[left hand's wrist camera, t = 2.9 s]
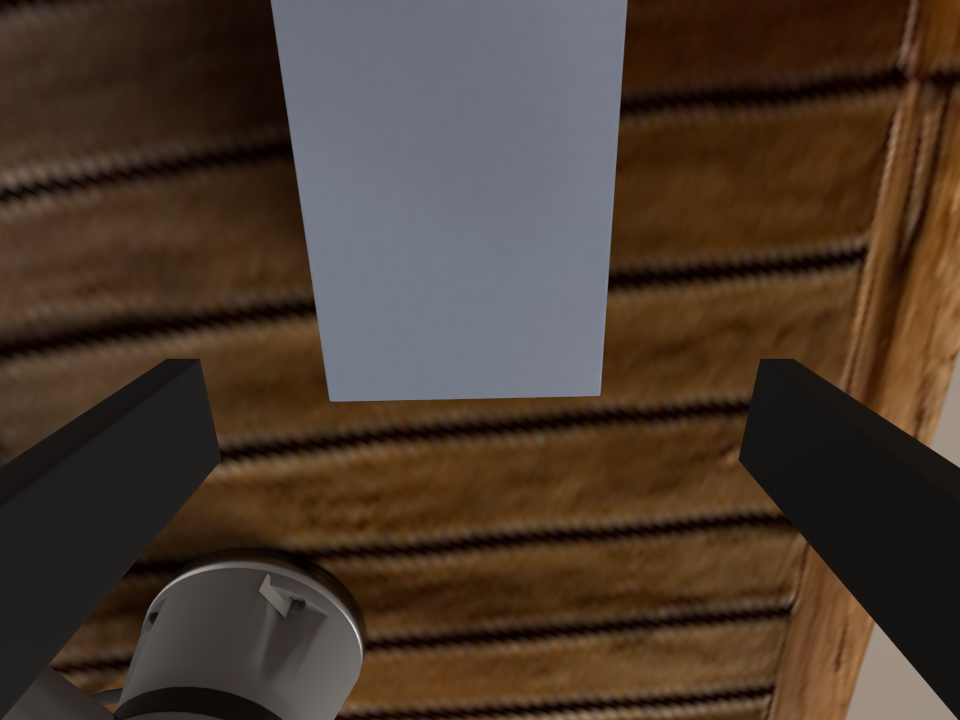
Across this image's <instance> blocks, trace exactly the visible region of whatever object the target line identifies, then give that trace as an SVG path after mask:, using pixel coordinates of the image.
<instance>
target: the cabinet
mask: <svg viewBox="0 0 960 720" xmlns="http://www.w3.org/2000/svg"><path fill="white" fill-rule="evenodd" d="M271 6H272V12H273V19H274V26H275V33H276V40H277V46H278V53H279V60H280V67H281V74H282V80H283V87H284V94H285V101H286V108H287V114H288V121H289V128H290V135H291V142H292V148H293V155H294V162H295V169H296V176H297V182H298V189H299V196H300V203H301V210H302V216H303V223H304V230H305V237H306V244H307V250H308V257H309V264H310V271H311V278H312V284H313V291H314V298H315V305H316V312H317V319H318V325H319V332H320V339H321V346H322V353H323V359H324V366H325V373H326V380H327V387H328V393H329V400H330V401H377V400H424V399H471V398H518V397H565V396H599V395H600V391H601V377H602V362H603V347H604V333H605V318H606V304H607V289H608V274H609V260H610V245H611V231H612V216H613V201H614V187H615V172H616V158H617V143H618V128H619V114H620V99H621V85H622V70H623V55H624V41H625V26H626V12H627V0H271Z"/></svg>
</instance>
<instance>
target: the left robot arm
mask: <svg viewBox="0 0 960 720" xmlns="http://www.w3.org/2000/svg"><path fill="white" fill-rule="evenodd" d="M220 461H221V455H220V450H219V446H218V441H217V437H216V432H215V427H214V423H213V418H212V414H211V409H210V404H209V400H208V395H207V390H206V386H205V381H204V377H203V372H202V367H201V363H200V359H166V360H164V361H163V362H161V363H160V364H158V365H157V366H155V367H154V368H152V369H151V370H149V371H148V372H146V373H145V374H143V375H142V376H140V377H138V378H137V379H135V380H134V381H132V382H131V383H129V384H128V385H126V386H125V387H123V388H122V389H120V390H119V391H117V392H116V393H114V394H112V395H111V396H109V397H108V398H106V399H105V400H103V401H102V402H100V403H99V404H97V405H96V406H94V407H93V408H91V409H90V410H88V411H86V412H85V413H83V414H82V415H80V416H79V417H77V418H76V419H74V420H73V421H71V422H70V423H68V424H67V425H65V426H64V427H62V428H61V429H59V430H57V431H56V432H54V433H53V434H51V435H50V436H48V437H47V438H45V439H44V440H42V441H41V442H39V443H38V444H36V445H35V446H33V447H31V448H30V449H28V450H27V451H25V452H24V453H22V454H21V455H19V456H18V457H16V458H15V459H13V460H12V461H10V462H9V463H7V464H5V465H4V466H2V467H1V468H0V720H334V718H335V717H336V715H337V713H338V711H339V710H340V708H341V706H342V705H343V703H344V701H345V699H346V698H347V697H348V695H349V694H350V692H351V690H352V689H353V687H354V685H355V683H356V681H357V679H358V677H359V674H360V671H361V667H362V662H363V658H364V654H365V649H366V643H367V632H366V625H365V621H364V618H363V616H362V613H361V611H360V609H359V607H358V605H357V604H356V602H355V601H354V599H353V598H352V596H351V595H350V594H349V593H348V592H347V590H346V589H345V588H344V587H343V586H342V585H341V584H340V583H338V582H337V581H336V580H335V579H334V578H332V577H331V576H330V575H328V574H327V573H325V572H324V571H322V570H320V569H319V568H317V567H315V566H313V565H311V564H309V563H307V562H305V561H302V560H300V559H297V558H295V557H291V556H288V555H285V554H281V553H276V552H272V551H265V550H255V549H236V550H226V551H221V552H216V553H212V554H208V555H206V556H203V557H200V558H198V559H196V560H194V561H192V562H190V563H188V564H187V565H185V566H183V567H182V568H181V569H180V570H178V571H177V572H176V573H175V574H174V575H173V576H172V577H171V578H170V579H169V581H168V582H167V583H166V585H165V586H164V587H163V589H162V590H161V591H160V593H159V594H158V596H157V597H156V598H155V600H154V601H153V602H152V604H151V606H150V608H149V609H148V612H147V614H146V617H145V620H144V623H143V626H142V629H141V633H140V639H139V641H138V644H137V646H136V649H135V652H134V655H133V658H132V662H131V665H130V668H129V672H128V675H127V678H126V681H125V685H124V688H120V689H113V690H107V691H103V692H100V693H97V694H95V695H92V696H89V695H87V694H86V693H85V692H83V691H82V690H81V689H79V688H78V687H76V686H75V685H74V684H72V683H71V682H69V681H68V680H67V679H65V678H64V677H63V676H61V675H60V674H58V673H57V672H56V671H54V670H53V669H52V668H50V667H49V666H48V664H49V663H50V662H51V661H52V660H53V659H54V657H55V656H56V655H57V654H58V653H59V651H60V650H61V649H62V648H63V647H64V646H65V644H66V643H67V642H68V641H69V640H70V638H71V637H72V636H73V635H74V634H75V633H76V631H77V630H78V629H79V628H80V627H81V625H82V624H83V623H84V622H85V621H86V620H87V618H88V617H89V616H90V615H91V614H92V612H93V611H94V610H95V609H96V608H97V607H98V605H99V604H100V603H101V602H102V601H103V599H104V598H105V597H106V596H107V595H108V594H109V592H110V591H111V590H112V589H113V588H114V586H115V585H116V584H117V583H118V582H119V580H120V579H121V578H122V577H123V576H124V575H125V573H126V572H127V571H128V570H129V569H130V567H131V566H132V565H133V564H134V563H135V562H136V560H137V559H138V558H139V557H140V556H141V554H142V553H143V552H144V551H145V550H146V549H147V547H148V546H149V545H150V544H151V543H152V541H153V540H154V539H155V538H156V537H157V536H158V534H159V533H160V532H161V531H162V530H163V528H164V527H165V526H166V525H167V524H168V523H169V521H170V520H171V519H172V518H173V517H174V515H175V514H176V513H177V512H178V511H179V510H180V508H181V507H182V506H183V505H184V504H185V502H186V501H187V500H188V499H189V498H190V497H191V495H192V494H193V493H194V492H195V491H196V489H197V488H198V487H199V486H200V485H201V484H202V482H203V481H204V480H205V479H206V478H207V476H208V475H209V474H210V473H211V472H212V470H213V469H214V468H215V467H216V466H217V465H218V463H219V462H220ZM739 461H740V462H741V463H742V465H743V466H744V467H745V468H746V469H747V470H748V472H749V473H750V474H751V475H752V476H753V478H754V479H755V480H756V481H757V482H758V484H759V485H760V486H761V487H762V488H763V489H764V491H765V492H766V493H767V494H768V495H769V497H770V498H771V499H772V500H773V501H774V502H775V504H776V505H777V506H778V507H779V508H780V510H781V511H782V512H783V513H784V514H785V515H786V517H787V518H788V519H789V520H790V521H791V523H792V524H793V525H794V526H795V527H796V528H797V530H798V531H799V532H800V533H801V534H802V536H803V537H804V538H805V539H806V540H807V541H808V543H809V544H810V545H811V546H812V547H813V549H814V550H815V551H816V552H817V553H818V554H819V556H820V557H821V558H822V559H823V560H824V562H825V563H826V564H827V565H828V566H829V567H830V569H831V570H832V571H833V572H834V573H835V575H836V576H837V577H838V578H839V579H840V580H841V582H842V583H843V584H844V585H845V586H846V588H847V589H848V590H849V591H850V592H851V594H852V595H853V596H854V597H855V598H856V599H857V601H858V602H859V603H860V604H861V605H862V607H863V608H864V609H865V610H866V611H867V612H868V614H869V615H870V616H871V617H872V618H873V620H874V621H875V622H876V623H877V624H878V625H879V627H880V628H881V629H882V630H883V631H884V633H885V634H886V635H887V636H888V637H889V638H890V640H891V641H892V642H893V643H894V644H895V646H896V647H897V648H898V649H899V650H900V651H901V653H902V654H903V655H904V656H905V657H906V659H907V660H908V661H909V662H910V663H911V664H912V666H913V667H914V668H915V669H916V670H917V672H918V673H919V674H920V675H921V676H922V677H923V679H924V680H925V681H926V682H927V683H928V685H929V686H930V687H931V688H932V689H933V690H934V692H935V693H936V694H937V695H938V696H939V698H940V699H941V700H942V701H943V702H944V703H945V705H946V706H947V707H948V708H949V709H950V711H951V712H952V713H953V714H954V715H955V716H956V718H957V719H958V720H960V468H959V467H958V466H956V465H955V464H953V463H951V462H950V461H948V460H947V459H945V458H944V457H942V456H941V455H939V454H938V453H936V452H935V451H933V450H932V449H930V448H929V447H927V446H925V445H924V444H922V443H921V442H919V441H918V440H916V439H915V438H913V437H912V436H910V435H909V434H907V433H906V432H904V431H903V430H901V429H899V428H898V427H896V426H895V425H893V424H892V423H890V422H889V421H887V420H886V419H884V418H883V417H881V416H880V415H878V414H877V413H875V412H874V411H872V410H870V409H869V408H867V407H866V406H864V405H863V404H861V403H860V402H858V401H857V400H855V399H854V398H852V397H851V396H849V395H848V394H846V393H844V392H843V391H841V390H840V389H838V388H837V387H835V386H834V385H832V384H831V383H829V382H828V381H826V380H825V379H823V378H822V377H820V376H818V375H817V374H815V373H814V372H812V371H811V370H809V369H808V368H806V367H805V366H803V365H802V364H800V363H799V362H797V361H796V360H794V359H760V363H759V367H758V372H757V377H756V381H755V386H754V390H753V395H752V400H751V404H750V409H749V414H748V418H747V423H746V427H745V432H744V437H743V441H742V446H741V450H740V455H739ZM113 703H118V706H117V707H116V709H115V710H114V712H113V713H112V712H110V710H108V709H107V708H105V707H104V706H103V705H107V704H113Z"/></svg>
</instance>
